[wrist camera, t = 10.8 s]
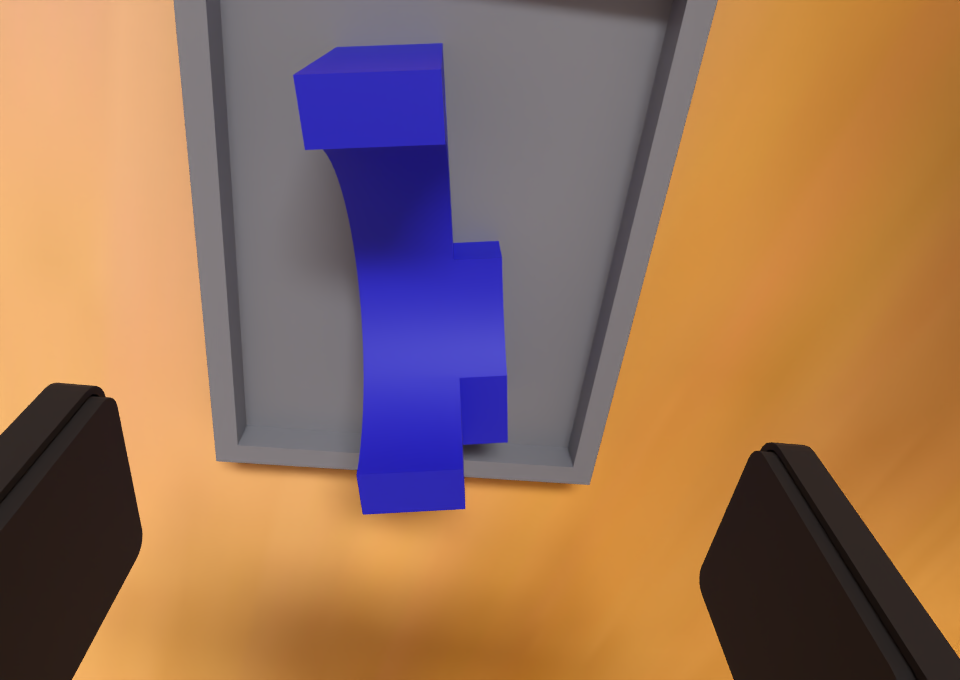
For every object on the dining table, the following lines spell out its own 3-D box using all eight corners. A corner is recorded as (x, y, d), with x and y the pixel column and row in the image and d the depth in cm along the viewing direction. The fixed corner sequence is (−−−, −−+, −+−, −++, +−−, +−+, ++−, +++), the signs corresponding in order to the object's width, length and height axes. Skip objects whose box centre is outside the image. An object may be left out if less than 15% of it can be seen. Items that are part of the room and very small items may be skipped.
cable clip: (501, 392, 24) (516, 506, 19) (380, 398, 24) (362, 514, 19) (495, 41, 19) (514, 66, 13) (336, 47, 18) (293, 74, 13)
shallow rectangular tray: (704, -52, 18) (732, -55, 17) (580, 451, 27) (589, 484, 25) (189, -129, 17) (160, -141, 15) (231, 428, 26) (216, 461, 24)
